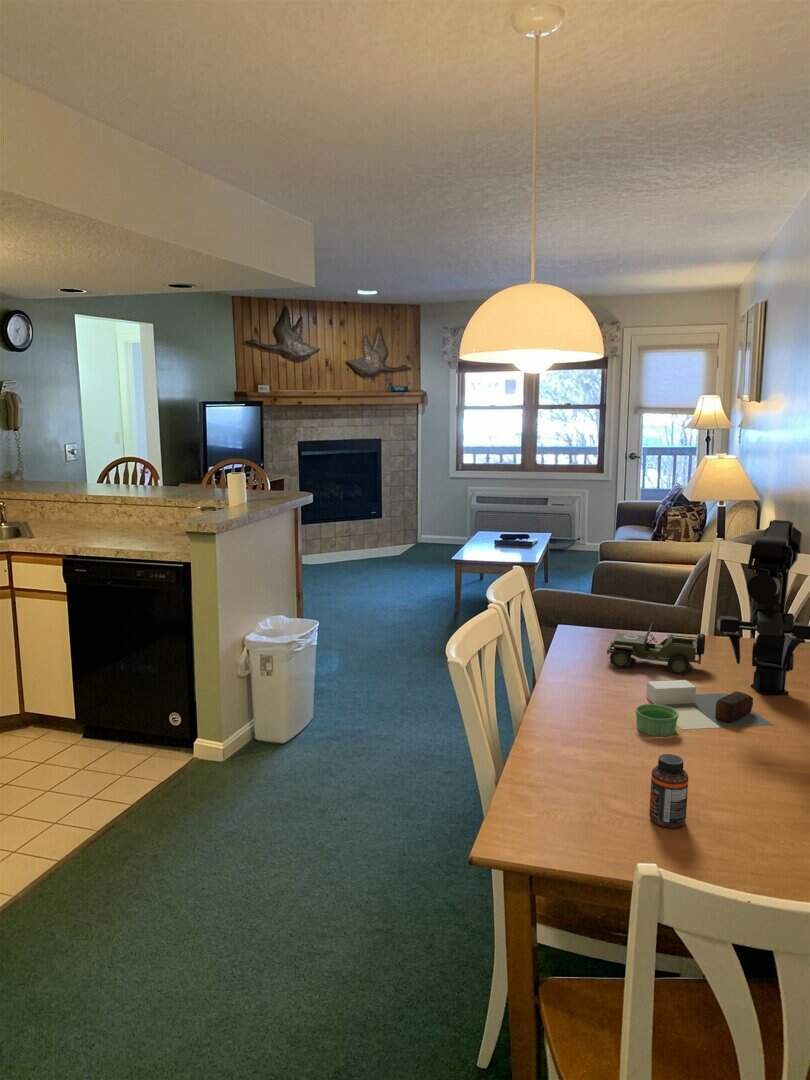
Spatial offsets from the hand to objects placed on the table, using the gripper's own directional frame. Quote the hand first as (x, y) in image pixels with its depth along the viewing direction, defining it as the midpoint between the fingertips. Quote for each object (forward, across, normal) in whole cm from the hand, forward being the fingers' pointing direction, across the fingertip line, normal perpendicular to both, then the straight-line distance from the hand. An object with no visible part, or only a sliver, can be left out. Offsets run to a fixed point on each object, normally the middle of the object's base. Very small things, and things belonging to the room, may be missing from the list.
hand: (760, 665), depth 173 cm
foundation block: (+13, -17, +10) cm, 24 cm away
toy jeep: (+11, -20, +37) cm, 44 cm away
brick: (+13, -4, +4) cm, 14 cm away
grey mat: (+13, -10, +6) cm, 17 cm away
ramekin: (+15, -22, -8) cm, 28 cm away
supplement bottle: (+18, -22, -48) cm, 56 cm away
